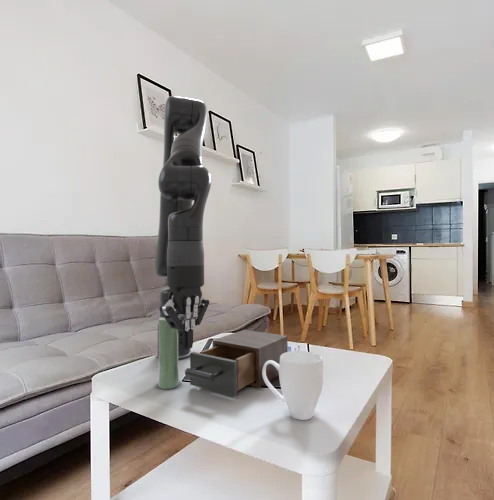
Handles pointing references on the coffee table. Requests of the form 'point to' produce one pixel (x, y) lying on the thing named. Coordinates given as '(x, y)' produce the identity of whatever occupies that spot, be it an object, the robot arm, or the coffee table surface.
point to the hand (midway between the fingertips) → (185, 348)
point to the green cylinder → (168, 355)
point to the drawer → (222, 369)
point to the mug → (298, 382)
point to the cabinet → (258, 350)
